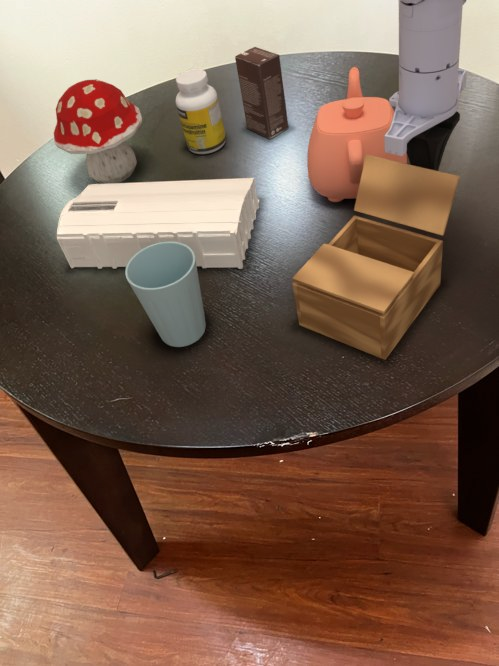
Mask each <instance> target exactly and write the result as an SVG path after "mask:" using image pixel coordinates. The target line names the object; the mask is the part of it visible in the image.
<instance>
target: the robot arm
mask: <svg viewBox="0 0 499 666" xmlns="http://www.w3.org/2000/svg"><path fill="white" fill-rule="evenodd" d="M466 2H467V0H398V91H396V92H395V93H393V94H392V95H391V96H390V97H389V99H388V101H389V105H390V106H392V108H393V107H394V108H395V109H394V116H393V119H392V123H391V126H390V129H389V131H388V132H387V133H386V134H385V135H384V141H385V152H386V153H390V154H394V155H399V156H403V155H404V154H405V153H407V159H408V161H409V164H410V165H414V166H419V167H423V168H427V169H432V170H436V171H439V169H440V166H441V162H442V159H443V156H444V153H445V149H446V147H447V145H448V141H449V140H450V138H451V136H452V134H453V131H455V128H456V126H458V125H457V124H458V123H459V122H460V118H461V113H460V112H458V108H459V105H460V104H459V102H460V98H461V92H462V91H464V90H465V88H466V87H467V75H468V71H467V70H466V69H460V68H459V67H460V52H461V51H460V50H461V38H462V37H461V35H462V21H463V6H464V5H465V4H466Z"/></svg>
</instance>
